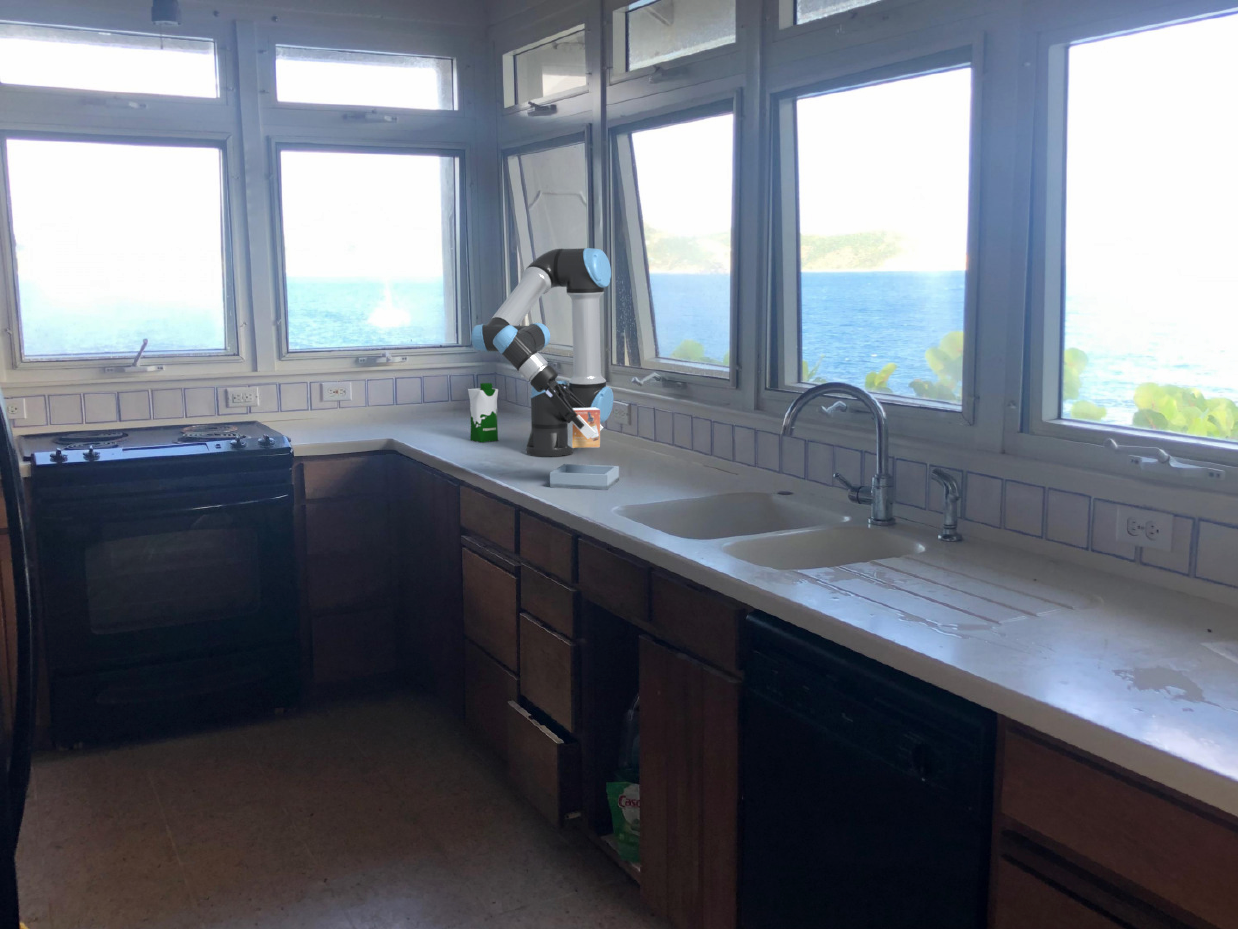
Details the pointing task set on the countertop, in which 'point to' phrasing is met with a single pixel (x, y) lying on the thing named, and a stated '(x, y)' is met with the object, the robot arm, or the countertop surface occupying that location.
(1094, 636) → the countertop surface
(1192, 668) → the countertop surface
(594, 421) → the small box
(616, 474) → the tray
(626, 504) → the countertop surface
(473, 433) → the milk carton
